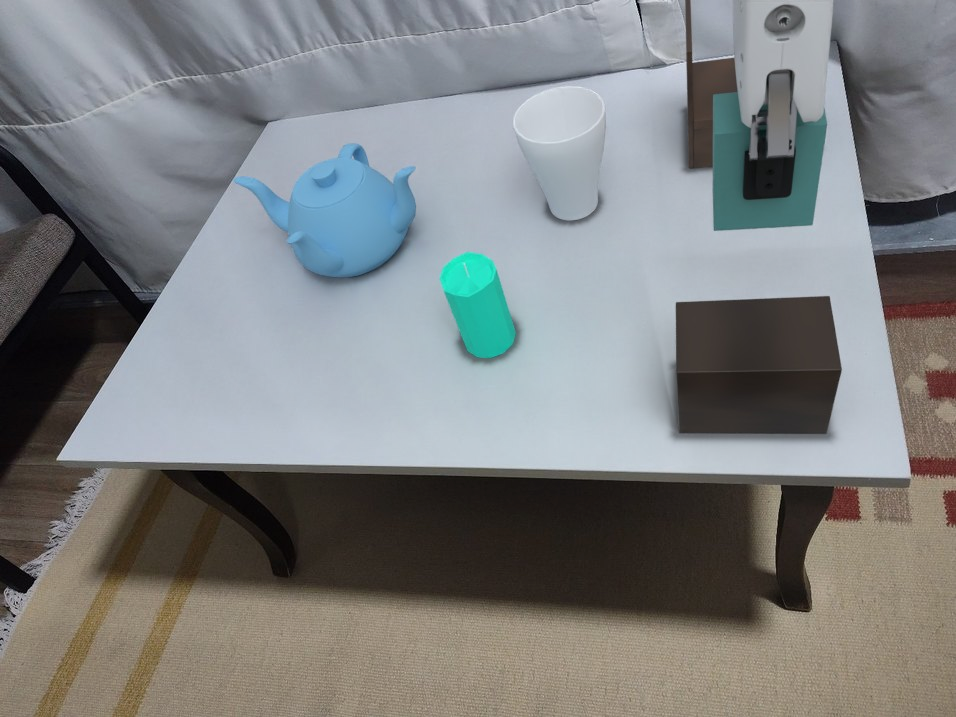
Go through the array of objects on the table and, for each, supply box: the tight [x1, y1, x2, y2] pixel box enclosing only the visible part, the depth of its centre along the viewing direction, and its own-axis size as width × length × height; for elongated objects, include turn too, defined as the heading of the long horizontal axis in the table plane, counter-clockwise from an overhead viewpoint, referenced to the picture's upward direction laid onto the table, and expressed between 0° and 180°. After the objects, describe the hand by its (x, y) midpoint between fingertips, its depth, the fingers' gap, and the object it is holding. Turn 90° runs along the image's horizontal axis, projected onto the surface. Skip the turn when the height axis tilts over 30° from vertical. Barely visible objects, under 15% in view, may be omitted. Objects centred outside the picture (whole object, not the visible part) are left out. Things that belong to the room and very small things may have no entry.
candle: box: [439, 251, 517, 359], centre depth 80 cm, size 6×6×12 cm
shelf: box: [684, 0, 738, 169], centre depth 90 cm, size 13×12×16 cm
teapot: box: [233, 142, 417, 278], centre depth 96 cm, size 17×19×12 cm
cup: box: [512, 85, 607, 221], centre depth 90 cm, size 10×10×14 cm
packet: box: [711, 92, 828, 232], centre depth 55 cm, size 7×4×9 cm, turn 81°
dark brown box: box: [675, 295, 843, 435], centre depth 69 cm, size 13×8×10 cm, turn 81°
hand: (764, 169), depth 55 cm, fingers closed on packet, 4 cm apart
